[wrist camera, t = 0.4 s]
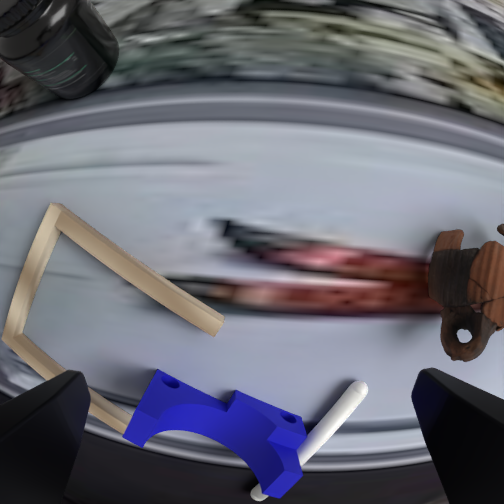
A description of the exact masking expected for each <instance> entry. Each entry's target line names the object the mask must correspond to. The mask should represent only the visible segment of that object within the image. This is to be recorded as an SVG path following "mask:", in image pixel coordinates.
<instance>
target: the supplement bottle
mask: <svg viewBox="0 0 504 504" xmlns="http://www.w3.org/2000/svg"><path fill="white" fill-rule="evenodd" d="M118 56H119V45H118V42H117V40H116V38H115V36H114V35H113V33H112V31H111V30H110V29H109V27H108V26H107V24H106V23H105V21H104V20H103V18H102V17H101V15H100V14H99V12H98V11H97V10H96V8H95V7H94V5H93V4H92V2H91V1H90V0H0V58H1V59H2V60H3V61H5V62H6V63H7V64H9V65H10V66H12V67H13V68H15V69H16V70H18V71H19V72H21V73H23V74H24V75H26V76H27V77H29V78H30V79H32V80H33V81H35V82H36V83H38V84H39V85H41V86H42V87H44V88H45V89H47V90H48V91H50V92H51V93H53V94H55V95H56V96H58V97H60V98H64V99H76V98H80V97H83V96H85V95H87V94H89V93H91V92H93V91H94V90H96V89H97V88H98V87H99V86H100V85H102V84H103V83H104V82H105V81H106V79H107V78H108V77H109V76H110V74H111V73H112V71H113V70H114V68H115V66H116V63H117V60H118Z"/></svg>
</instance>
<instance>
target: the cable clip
mask: <svg viewBox="0 0 504 504" xmlns="http://www.w3.org/2000/svg"><path fill="white" fill-rule="evenodd" d="M168 430H184V431H190V432H194V433H198V434H201V435H204V436H207V437H209V438H211V439H213V440H215V441H217V442H219V443H221V444H223V445H224V446H226V447H228V448H229V449H230V450H232V451H233V452H234V453H236V454H237V455H238V456H239V457H240V458H242V459H243V460H244V461H245V462H246V463H247V465H248V466H249V467H250V468H251V470H252V471H253V472H254V474H255V475H256V477H257V479H258V481H259V484H260V487H261V491H262V494H265V495H268V496H272V497H276V498H281V497H282V496H283V495H284V494H285V493H286V492H287V491H288V490H289V489H290V488H291V487H292V486H293V485H294V484H295V483H296V482H297V481H298V480H299V479H300V478H301V477H302V476H303V474H302V470H301V466H300V462H299V458H298V454H297V449H298V448H299V447H300V445H301V444H302V443H303V442H304V441H305V439H306V438H307V434H306V431H305V427H304V424H303V421H302V418H301V417H300V416H297V415H295V414H292V413H289V412H287V411H284V410H282V409H279V408H277V407H274V406H272V405H270V404H267V403H265V402H262V401H260V400H258V399H255V398H253V397H251V396H249V395H246V394H244V393H242V392H240V391H237V390H236V391H235V392H234V394H233V395H232V397H231V398H230V400H229V401H228V403H225V402H222V401H220V400H218V399H216V398H214V397H212V396H210V395H207V394H205V393H203V392H201V391H199V390H197V389H195V388H193V387H191V386H189V385H187V384H185V383H183V382H181V381H179V380H177V379H175V378H174V377H172V376H170V375H168V374H166V373H164V372H162V371H160V370H159V369H158V370H157V371H156V373H155V375H154V377H153V379H152V380H151V382H150V384H149V386H148V388H147V390H146V391H145V393H144V395H143V397H142V399H141V401H140V403H139V404H138V406H137V408H136V410H135V412H134V414H133V416H132V418H131V420H130V422H129V424H128V426H127V428H126V430H125V432H124V434H123V436H122V437H123V438H125V439H127V440H128V441H130V442H132V443H134V444H136V445H138V446H140V447H142V448H143V446H144V444H145V443H146V441H147V440H148V439H149V438H150V437H152V436H153V435H155V434H157V433H160V432H163V431H168Z"/></svg>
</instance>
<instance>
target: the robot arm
mask: <svg viewBox="0 0 504 504" xmlns="http://www.w3.org/2000/svg"><path fill="white" fill-rule="evenodd" d="M411 398H412V402H413V405H414V408H415V411H416V415H417V418H418V421H419V424H420V427H421V431H422V434H423V437H424V440H425V443H426V446H427V448H428V451H429V453H430V455H431V458H432V460H433V463H434V465H435V467H436V470H437V472H438V475H439V478H440V480H441V483H442V485H443V488H444V490H445V493H446V496H447V498H448V501H449V504H504V400H503V399H501V398H499V397H497V396H495V395H492V394H490V393H488V392H486V391H483V390H481V389H479V388H477V387H475V386H472V385H470V384H468V383H466V382H464V381H462V380H459V379H457V378H455V377H453V376H451V375H449V374H447V373H444V372H442V371H440V370H438V369H436V368H427V369H423V370H421V371H420V372H419V374H418V377H417V379H416V382H415V385H414V388H413V390H412V395H411ZM90 403H91V396H90V392H89V389H88V386H87V383H86V380H85V377H84V375H83V373H82V372H80V371H74V370H67V371H65V372H63V373H61V374H59V375H57V376H55V377H53V378H51V379H50V380H48V381H46V382H44V383H42V384H40V385H38V386H36V387H34V388H32V389H30V390H28V391H27V392H25V393H23V394H21V395H19V396H17V397H15V398H13V399H11V400H9V401H7V402H5V403H3V404H1V405H0V504H61V501H62V498H63V495H64V492H65V489H66V486H67V482H68V479H69V476H70V473H71V470H72V468H73V465H74V462H75V459H76V456H77V453H78V450H79V447H80V443H81V439H82V435H83V431H84V427H85V423H86V419H87V415H88V411H89V407H90Z"/></svg>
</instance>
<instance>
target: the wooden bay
mask: <svg viewBox="0 0 504 504" xmlns="http://www.w3.org/2000/svg"><path fill="white" fill-rule="evenodd" d="M61 231H62V232H63V233H64V234H66V235H67V236H68V237H69V238H71V239H72V240H73V241H75V242H76V243H77V244H78V245H80V246H81V247H82V248H84V249H85V250H86V251H88V252H89V253H90V254H92V255H93V256H94V257H96V258H97V259H98V260H100V261H101V262H102V263H104V264H105V265H106V266H108V267H109V268H110V269H112V270H113V271H115V272H116V273H117V274H119V275H120V276H122V277H123V278H124V279H126V280H127V281H129V282H130V283H131V284H133V285H134V286H136V287H137V288H139V289H140V290H142V291H143V292H144V293H146V294H147V295H149V296H150V297H152V298H153V299H155V300H156V301H158V302H159V303H161V304H162V305H164V306H165V307H167V308H168V309H170V310H171V311H173V312H175V313H176V314H178V315H179V316H181V317H182V318H184V319H185V320H187V321H189V322H190V323H192V324H193V325H195V326H197V327H198V328H200V329H201V330H203V331H205V332H206V333H208V334H210V335H211V336H213V337H215V335H216V334H217V332H218V331H219V329H220V328H221V326H222V325H223V323H224V318H225V317H224V316H223V315H221V314H220V313H218V312H216V311H215V310H213V309H212V308H210V307H208V306H207V305H205V304H204V303H202V302H200V301H199V300H197V299H196V298H194V297H193V296H191V295H190V294H188V293H186V292H185V291H183V290H182V289H180V288H179V287H177V286H176V285H174V284H173V283H171V282H170V281H168V280H167V279H165V278H164V277H162V276H161V275H159V274H158V273H156V272H155V271H153V270H152V269H150V268H149V267H147V266H146V265H144V264H143V263H142V262H140V261H139V260H137V259H136V258H134V257H133V256H131V255H130V254H129V253H127V252H126V251H124V250H123V249H121V248H120V247H119V246H117V245H116V244H114V243H113V242H112V241H110V240H109V239H108V238H106V237H105V236H103V235H102V234H101V233H99V232H98V231H97V230H95V229H94V228H92V227H91V226H90V225H88V224H87V223H86V222H84V221H83V220H82V219H80V218H79V217H78V216H76V215H75V214H74V213H72V212H71V211H70V210H69V209H67V208H66V207H65V206H63V205H62V204H59V203H50V206H49V208H48V210H47V212H46V214H45V216H44V218H43V221H42V223H41V225H40V227H39V230H38V232H37V234H36V237H35V239H34V241H33V244H32V246H31V249H30V251H29V254H28V256H27V259H26V262H25V264H24V267H23V270H22V273H21V275H20V278H19V281H18V284H17V287H16V290H15V293H14V296H13V300H12V303H11V306H10V310H9V313H8V317H7V320H6V324H5V328H4V332H3V336H2V340H3V341H4V342H5V343H6V344H7V345H8V346H9V347H10V348H11V349H12V350H13V351H14V352H15V353H16V354H17V355H19V356H20V357H21V358H22V359H23V360H24V361H25V362H26V363H27V364H28V365H30V366H31V367H32V368H33V369H34V370H35V371H36V372H38V373H39V374H40V375H41V376H42V377H44V378H45V379H46V380H47V381H48V380H50V379H51V378H53V377H55V376H57V375H59V374H61V373H63V372H65V371H66V370H65V369H64V368H63V367H61V366H60V365H59V364H58V363H56V362H55V361H54V360H53V359H52V358H50V357H49V356H48V355H47V354H46V353H44V352H43V351H42V350H41V349H40V348H39V347H37V346H36V345H35V344H34V343H33V342H32V341H31V340H30V339H28V338H27V337H26V336H25V335H24V334H23V333H22V332H23V329H24V325H25V322H26V319H27V316H28V313H29V310H30V307H31V304H32V301H33V299H34V296H35V293H36V290H37V288H38V285H39V283H40V280H41V277H42V275H43V272H44V270H45V267H46V265H47V263H48V260H49V258H50V256H51V253H52V251H53V249H54V246H55V244H56V242H57V240H58V238H59V235H60V233H61ZM88 389H89V392H90V396H91V403H90V407H89V411H88V412H90V413H91V414H93V415H94V416H96V417H97V418H98V419H100V420H102V421H103V422H105V423H106V424H108V425H109V426H111V427H112V428H114V429H116V430H117V431H119V432H120V433H122V434H124V432H125V430H126V428H127V426H128V424H129V422H130V420H131V418H132V415H130V414H128V413H127V412H125V411H123V410H122V409H120V408H119V407H117V406H116V405H114V404H113V403H111V402H110V401H108V400H107V399H105V398H104V397H102V396H101V395H99V394H98V393H96V392H95V391H93V390H92V389H91V388H89V387H88Z"/></svg>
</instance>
